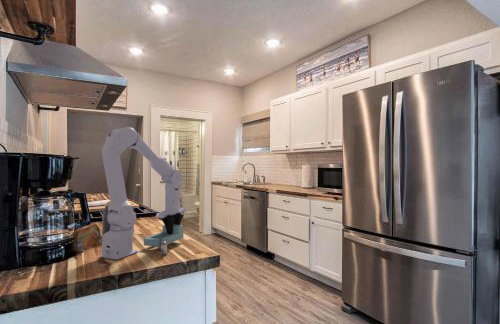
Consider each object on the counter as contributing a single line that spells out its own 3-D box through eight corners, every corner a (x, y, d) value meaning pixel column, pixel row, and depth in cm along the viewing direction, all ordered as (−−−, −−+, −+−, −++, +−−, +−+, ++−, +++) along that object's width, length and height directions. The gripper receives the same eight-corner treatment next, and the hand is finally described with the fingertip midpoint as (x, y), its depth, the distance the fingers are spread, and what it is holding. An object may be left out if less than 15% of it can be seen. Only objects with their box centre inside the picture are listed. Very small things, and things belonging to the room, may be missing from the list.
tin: (77, 255, 100) (77, 230, 100) (68, 255, 100) (69, 230, 100) (101, 243, 115) (101, 222, 115) (93, 243, 115) (93, 222, 115)
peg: (164, 256, 97) (164, 242, 97) (158, 255, 98) (158, 242, 98) (169, 254, 99) (169, 241, 99) (163, 253, 100) (163, 240, 100)
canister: (104, 233, 132) (105, 195, 133) (135, 231, 136) (135, 194, 137) (99, 240, 120) (99, 198, 120) (132, 237, 124) (132, 196, 124)
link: (160, 247, 104) (160, 233, 104) (143, 245, 107) (143, 231, 107) (183, 237, 116) (183, 225, 116) (167, 235, 119) (167, 223, 119)
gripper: (168, 201, 108) (168, 238, 108) (191, 197, 121) (191, 230, 121) (154, 201, 111) (154, 236, 111) (177, 197, 124) (177, 228, 124)
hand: (172, 233), depth 116 cm, fingers closed on link, 3 cm apart
